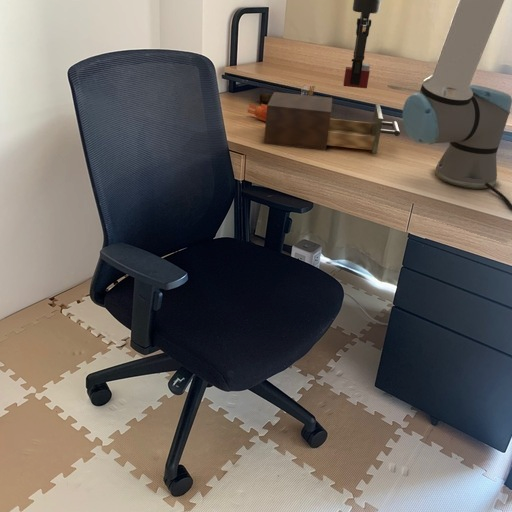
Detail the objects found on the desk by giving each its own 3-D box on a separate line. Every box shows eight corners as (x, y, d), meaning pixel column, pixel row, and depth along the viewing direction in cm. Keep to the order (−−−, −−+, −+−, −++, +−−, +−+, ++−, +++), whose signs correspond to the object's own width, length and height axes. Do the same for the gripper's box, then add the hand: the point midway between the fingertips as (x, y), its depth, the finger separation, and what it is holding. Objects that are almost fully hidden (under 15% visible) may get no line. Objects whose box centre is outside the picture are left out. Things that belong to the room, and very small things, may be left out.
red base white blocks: (366, 86, 160) (370, 63, 156) (366, 88, 157) (370, 65, 154) (343, 83, 160) (346, 61, 157) (343, 86, 157) (346, 63, 154)
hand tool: (258, 103, 192) (259, 90, 190) (266, 101, 195) (267, 89, 192) (291, 116, 180) (293, 102, 178) (300, 115, 182) (302, 101, 180)
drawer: (392, 138, 163) (398, 106, 158) (397, 155, 149) (404, 120, 144) (316, 130, 165) (320, 98, 160) (313, 146, 151) (317, 111, 146)
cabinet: (327, 133, 166) (332, 97, 160) (325, 150, 151) (331, 111, 145) (271, 126, 167) (274, 91, 162) (264, 143, 153) (267, 105, 147)
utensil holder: (307, 117, 180) (311, 81, 174) (316, 122, 175) (320, 85, 169) (291, 117, 178) (295, 81, 172) (300, 123, 173) (304, 86, 167)
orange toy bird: (246, 99, 172) (276, 107, 166) (259, 103, 178) (288, 110, 173) (243, 114, 173) (272, 122, 168) (255, 118, 180) (284, 126, 174)
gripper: (354, -7, 154) (341, 76, 166) (355, -3, 140) (341, 87, 151) (379, -5, 153) (365, 78, 165) (383, 0, 139) (367, 90, 151)
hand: (354, 82), depth 158 cm, fingers closed on red base white blocks, 3 cm apart
